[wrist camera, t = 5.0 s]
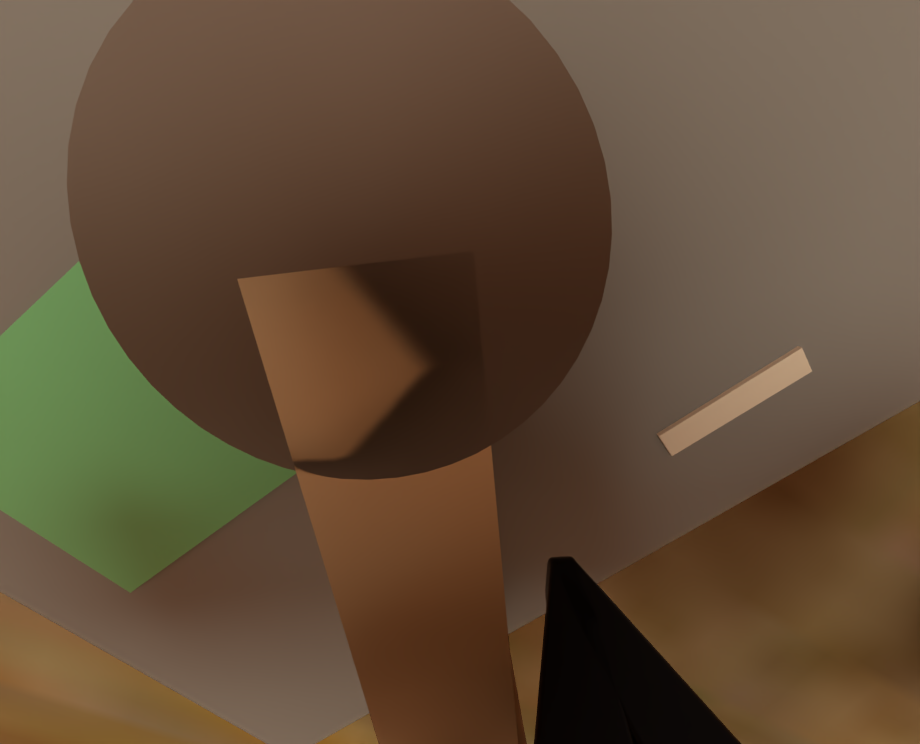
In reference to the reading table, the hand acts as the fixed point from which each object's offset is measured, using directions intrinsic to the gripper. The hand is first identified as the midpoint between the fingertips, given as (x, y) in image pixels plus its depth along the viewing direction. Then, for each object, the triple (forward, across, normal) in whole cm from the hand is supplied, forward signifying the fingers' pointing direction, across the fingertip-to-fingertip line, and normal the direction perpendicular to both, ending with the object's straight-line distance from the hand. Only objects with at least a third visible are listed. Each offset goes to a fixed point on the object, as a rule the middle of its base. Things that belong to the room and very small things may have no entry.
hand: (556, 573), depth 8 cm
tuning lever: (+1, +2, -2) cm, 3 cm away
